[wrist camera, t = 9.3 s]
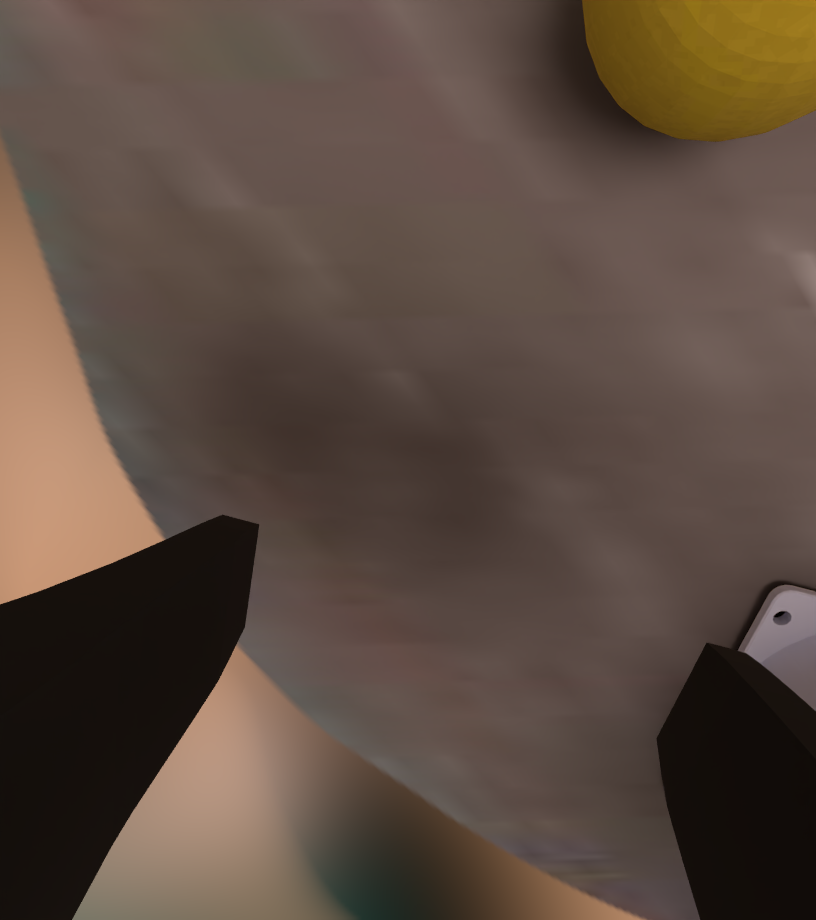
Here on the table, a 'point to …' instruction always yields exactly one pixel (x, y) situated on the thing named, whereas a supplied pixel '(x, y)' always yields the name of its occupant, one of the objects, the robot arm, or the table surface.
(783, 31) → the lemon
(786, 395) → the table surface
